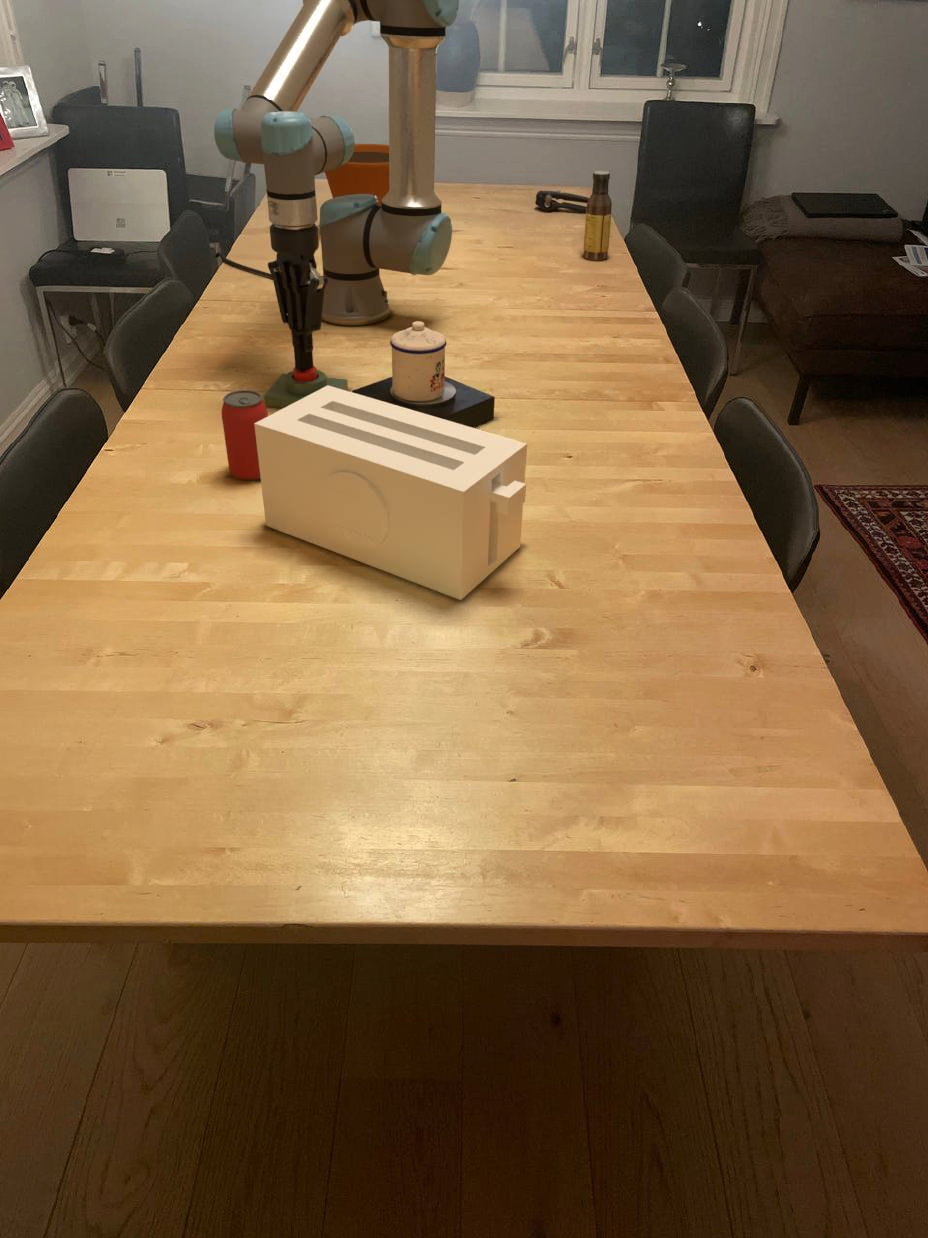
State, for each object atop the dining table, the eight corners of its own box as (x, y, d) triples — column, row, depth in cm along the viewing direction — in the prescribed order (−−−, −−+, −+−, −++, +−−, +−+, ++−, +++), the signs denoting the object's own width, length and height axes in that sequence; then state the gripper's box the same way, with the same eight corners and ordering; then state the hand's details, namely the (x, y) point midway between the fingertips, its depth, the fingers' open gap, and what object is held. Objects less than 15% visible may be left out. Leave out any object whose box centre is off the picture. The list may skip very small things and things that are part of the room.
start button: (290, 382, 164) (290, 372, 163) (298, 373, 168) (297, 363, 167) (313, 384, 164) (312, 374, 163) (320, 375, 167) (319, 365, 166)
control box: (264, 406, 165) (262, 384, 162) (283, 383, 173) (281, 362, 170) (332, 413, 163) (331, 390, 161) (348, 389, 171) (346, 368, 169)
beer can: (236, 485, 142) (226, 410, 135) (224, 466, 147) (213, 392, 140) (279, 476, 145) (272, 402, 137) (265, 458, 149) (257, 385, 142)
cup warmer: (351, 411, 164) (349, 386, 161) (419, 386, 173) (419, 361, 170) (425, 447, 154) (425, 421, 151) (493, 418, 163) (495, 393, 160)
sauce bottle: (602, 253, 244) (611, 168, 232) (610, 260, 239) (620, 174, 227) (578, 254, 242) (586, 169, 231) (586, 261, 238) (594, 174, 226)
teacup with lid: (441, 404, 156) (442, 334, 149) (386, 400, 157) (384, 330, 150) (451, 376, 165) (452, 309, 159) (399, 372, 166) (398, 305, 159)
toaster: (262, 528, 132) (250, 425, 123) (334, 482, 143) (327, 385, 134) (478, 611, 118) (482, 502, 109) (539, 553, 129) (548, 449, 120)
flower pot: (413, 250, 242) (412, 164, 230) (319, 247, 242) (313, 161, 230) (418, 225, 261) (417, 144, 249) (331, 222, 261) (326, 142, 249)
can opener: (533, 212, 276) (534, 191, 272) (535, 206, 281) (537, 185, 278) (595, 216, 273) (597, 195, 270) (596, 210, 279) (598, 189, 276)
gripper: (249, 219, 152) (263, 362, 166) (299, 236, 145) (310, 384, 159) (287, 211, 156) (298, 352, 170) (338, 227, 149) (345, 373, 163)
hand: (304, 367), depth 164 cm, fingers closed
